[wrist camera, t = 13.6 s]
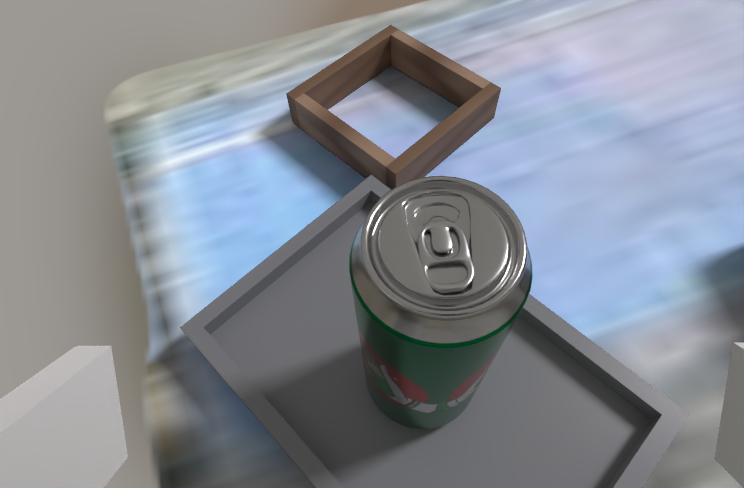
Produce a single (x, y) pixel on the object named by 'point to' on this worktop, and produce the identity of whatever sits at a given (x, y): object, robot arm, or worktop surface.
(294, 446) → the grey tray
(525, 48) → the worktop surface
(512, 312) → the soda can
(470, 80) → the walnut collar
